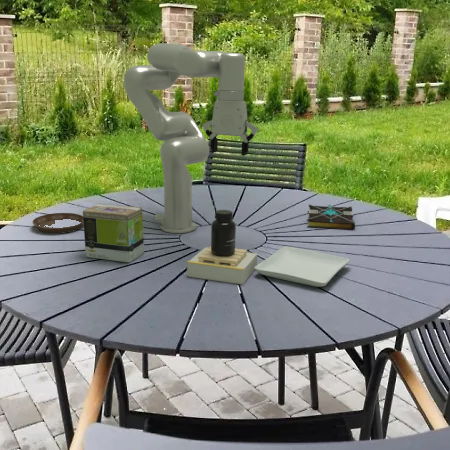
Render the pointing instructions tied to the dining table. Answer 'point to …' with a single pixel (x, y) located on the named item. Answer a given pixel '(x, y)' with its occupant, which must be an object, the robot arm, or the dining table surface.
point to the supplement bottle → (223, 234)
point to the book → (331, 217)
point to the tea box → (113, 232)
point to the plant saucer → (50, 220)
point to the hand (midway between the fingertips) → (229, 153)
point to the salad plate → (302, 266)
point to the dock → (222, 266)
